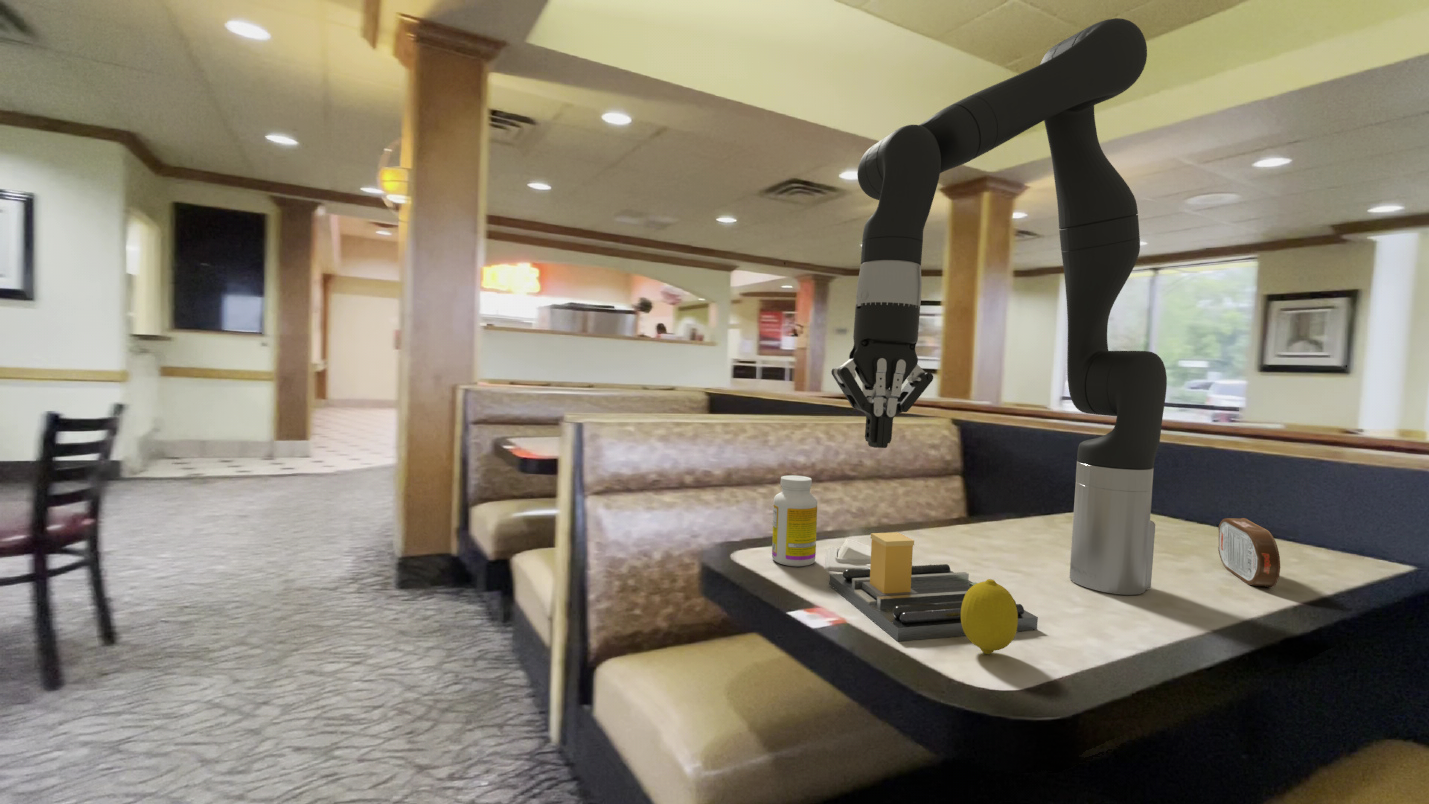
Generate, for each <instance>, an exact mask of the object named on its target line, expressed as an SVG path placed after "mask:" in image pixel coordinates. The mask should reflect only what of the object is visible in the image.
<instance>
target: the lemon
mask: <svg viewBox="0 0 1429 804" xmlns="http://www.w3.org/2000/svg"><path fill="white" fill-rule="evenodd" d="M976 583H977V582H976ZM1014 600H1015V599H1014V597H1013V595H1012V594H1011V593H1010V591H1009V590H1007V588H1005V587H1004V586H1003V585H1001V584H1000V583H997V582H996V581H995V579H991V578H988V579H986V580H985V581H981V582H978V583H977V584H975V585H973V586H972V587H971V588H970V589H969V590H968V591H967V592H966V594H965V596H964V599H963V602H962V606H961V624H962V628H963V631H964V633H965V635H966V636H965V637H966V638H967V639H968V640H969V642H970V643H972V644H973V645H974V646H975V647H977V648H979V649H980V651H982V652H983V654H985V655H991V654H992V653H994V652H995V651H1001V650H1003V649H1005V648H1006V647H1008V646H1009V645H1010V644H1011V643H1012V641H1013V640H1014V639H1015V636H1016V635H1017V632H1018V631H1017V625H1018V613H1017V608H1016V604H1017V603H1016V604H1015V602H1016V600H1015V601H1014ZM1016 631H1017V632H1016Z"/></svg>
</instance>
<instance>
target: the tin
mask: <svg viewBox="0 0 1429 804" xmlns="http://www.w3.org/2000/svg"><path fill="white" fill-rule="evenodd" d="M1217 529H1218V549H1217V550H1218V554H1219V558H1220V561H1221V563H1222V565H1223V566H1224V568H1225V569H1227V570H1228V571H1229V572H1230V573H1231V574H1233V575H1234V576H1236V577H1237V578H1239V579H1240V580H1241V581H1242V582H1244V583H1245V584H1247V585H1248V586H1252V587H1254V586H1256V587H1266V588H1273V587H1275V586H1276V585H1277V583H1278V581H1279V578H1280V573H1281V557H1280V551H1279V547H1278V544H1277V542H1276V539H1275V538H1274V536H1273V534H1272V533H1271V532H1270V531H1269V530H1268V529H1267V528H1264V527H1262V526H1260V525H1259V524H1256V523H1254V522H1253V521H1251V520H1249V519H1248V518H1246V517H1245V518H1244V517H1241V518H1237V517H1236V518H1234V517H1233V518H1232V517H1229V518H1228V517H1227V518H1222V520H1221V521H1220V523H1219V525H1218V528H1217Z"/></svg>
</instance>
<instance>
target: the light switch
mask: <svg viewBox="0 0 1429 804" xmlns="http://www.w3.org/2000/svg"><path fill="white" fill-rule="evenodd" d="M824 557H825V559H824V570H825V571H833V572H842V573H843V572H844V570H846V569H863V568H870V565H871V545H868V544H864V543H862V542H859V541H857V540H855V539H852V538H846V539H845V540H844V542H843V543H842V545H841V546H840V547H839V546H837V547H836V546H830V547H828V548H826V549H825V556H824Z"/></svg>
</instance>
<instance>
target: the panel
mask: <svg viewBox="0 0 1429 804" xmlns="http://www.w3.org/2000/svg"><path fill="white" fill-rule="evenodd" d="M969 575H970V574H969V573H968V572H966V571H960V572H955V571H952V570H951V567H950V565H949V564H948V563H944V564H941V563H940V564H928V565H927V564H925V565H923V564H922V565H912V572H911V589H912V590H914V591H915V592H917V593H918V594H912V595H897V596H881V597H877V599H876V598H874V597H873V596H872V595H870V594H869V593H868V592H866V591H865V590H864V589H862V582H870V568H863V569H846V570H844V572H842V573H830V574H829V578H828V579H829V580H828V581H829V584H828V585H829V586H830V588H832V589H834V591H836V592H837V593H838V594H839V595H841V596H842V597H843V598H844V599H846V600H847V601H848V602H849V603H850V604H851V605H852V606H854V607H856V609H858V610H859V611H860V612H861V613H863V615H865V616H866V618H868V619H870V620H871V621H872V620H873V621H874V622H873V621H872V622H873V623H875V625H877V626H878V627H879V626H880V627H879V628H880V629H882V630H883V631H884V632H886V634H887V635H890V636H891V638H893V639H894V640H895V641H896V642H904V641H905V642H907V641H917V640H928V639H929V640H930V639H942V638H955V637H967V636H966V635H965V633H964V631H963V628H962V624H961V606H962V602H963V599H964V596H965V594H966V592H967V591H968V590H969V589H970V588H971V587H972V586H973V585H975V584H977V582H973V581H971V580H969ZM1014 601H1015V604H1016V608H1017V613H1018V625H1017V631H1016V633H1017V632H1025V631H1024V630H1029V631H1034V630H1033V629H1037V630H1038V623H1039V622H1038V621H1039V618H1038V616H1036V615H1035V614H1032V613H1031V612H1029V611H1027V610H1026V609H1025V608H1024V606H1023V605H1022V604H1020V603H1016V600H1015V599H1014Z"/></svg>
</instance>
